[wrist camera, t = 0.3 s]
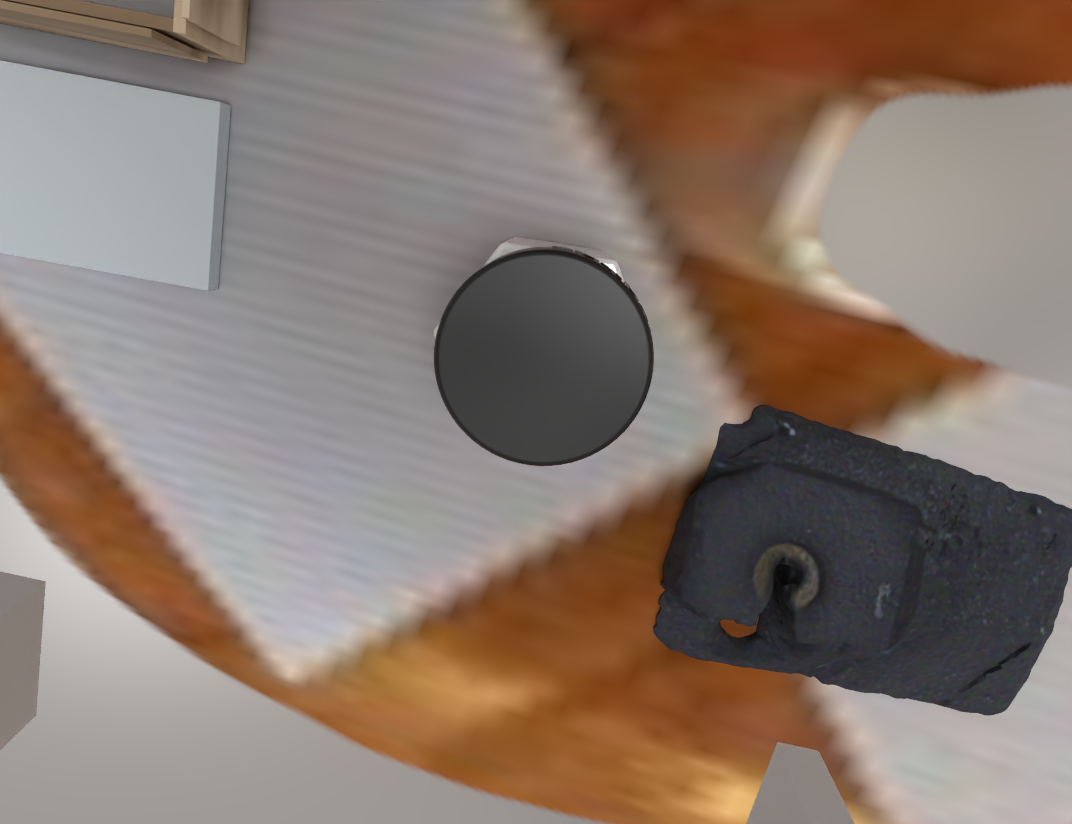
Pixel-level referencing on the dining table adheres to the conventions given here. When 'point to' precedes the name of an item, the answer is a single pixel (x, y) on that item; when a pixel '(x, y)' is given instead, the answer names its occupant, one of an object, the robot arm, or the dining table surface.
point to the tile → (112, 176)
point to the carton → (142, 25)
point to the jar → (544, 353)
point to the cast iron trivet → (864, 566)
